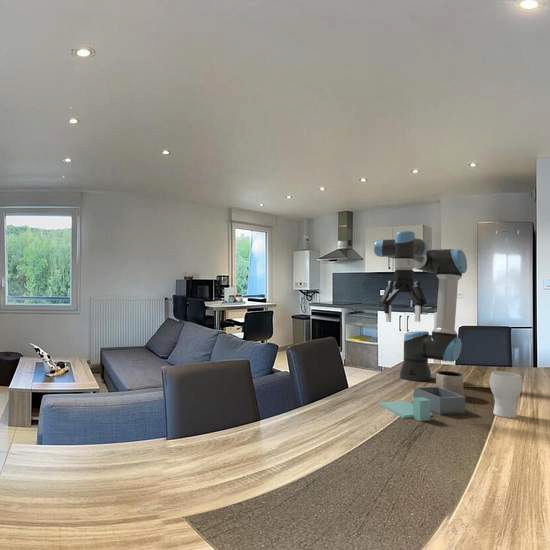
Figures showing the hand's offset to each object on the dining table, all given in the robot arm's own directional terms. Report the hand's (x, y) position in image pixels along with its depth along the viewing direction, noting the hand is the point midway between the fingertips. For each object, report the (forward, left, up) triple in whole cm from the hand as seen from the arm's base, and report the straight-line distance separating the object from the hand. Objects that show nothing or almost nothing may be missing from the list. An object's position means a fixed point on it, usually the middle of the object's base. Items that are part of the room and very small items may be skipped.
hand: (403, 321), depth 180 cm
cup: (+26, +27, -32) cm, 49 cm away
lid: (+15, -7, -32) cm, 36 cm away
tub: (+13, +8, -32) cm, 35 cm away
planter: (-1, +24, -32) cm, 40 cm away
